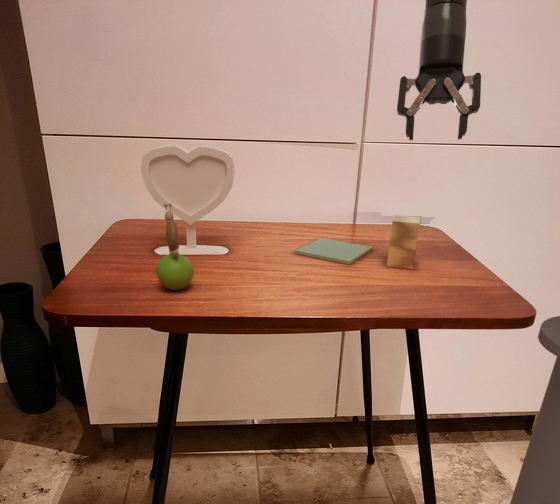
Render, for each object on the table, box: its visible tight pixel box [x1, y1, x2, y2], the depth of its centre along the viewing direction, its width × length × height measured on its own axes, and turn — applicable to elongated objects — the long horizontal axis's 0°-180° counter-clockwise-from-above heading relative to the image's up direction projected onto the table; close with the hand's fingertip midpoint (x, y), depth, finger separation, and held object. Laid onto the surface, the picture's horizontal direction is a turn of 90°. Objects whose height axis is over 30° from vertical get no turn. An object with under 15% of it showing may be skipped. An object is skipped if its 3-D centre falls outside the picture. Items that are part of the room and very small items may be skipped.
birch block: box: [386, 214, 422, 270], centre depth 96 cm, size 5×5×8 cm
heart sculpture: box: [140, 143, 235, 256], centre depth 96 cm, size 16×5×18 cm, turn 98°
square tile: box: [294, 237, 373, 265], centre depth 103 cm, size 11×11×1 cm
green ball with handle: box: [156, 203, 194, 291], centre depth 80 cm, size 5×6×12 cm
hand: (435, 139), depth 99 cm, fingers open, 8 cm apart
